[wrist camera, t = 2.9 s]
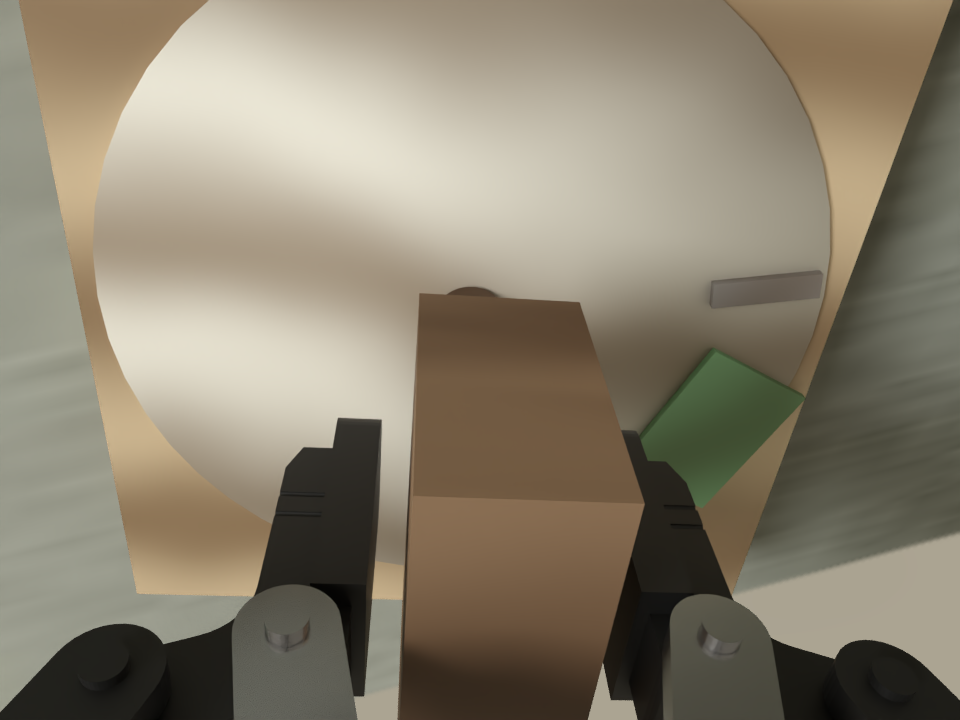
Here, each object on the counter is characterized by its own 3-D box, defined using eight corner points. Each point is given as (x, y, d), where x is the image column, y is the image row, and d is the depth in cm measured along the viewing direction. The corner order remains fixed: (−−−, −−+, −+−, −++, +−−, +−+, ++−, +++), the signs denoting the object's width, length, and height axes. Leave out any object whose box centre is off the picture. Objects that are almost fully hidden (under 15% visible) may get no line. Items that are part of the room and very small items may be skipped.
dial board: (67, -238, 16) (-46, -264, 12) (894, -146, 17) (1021, -144, 13) (175, 496, 26) (133, 605, 22) (691, 513, 27) (731, 617, 24)
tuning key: (422, 176, 16) (412, 496, 8) (541, 184, 16) (644, 503, 8) (402, 560, 22) (385, 966, 14) (490, 562, 22) (522, 964, 14)
